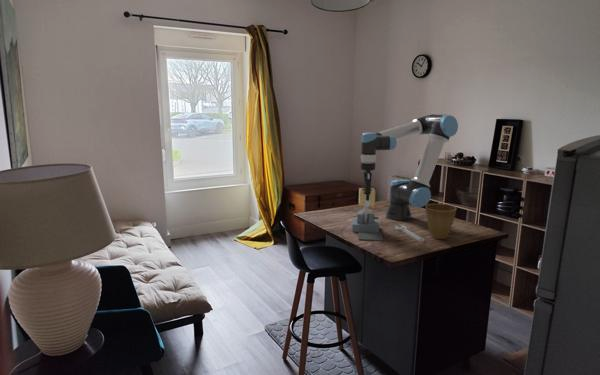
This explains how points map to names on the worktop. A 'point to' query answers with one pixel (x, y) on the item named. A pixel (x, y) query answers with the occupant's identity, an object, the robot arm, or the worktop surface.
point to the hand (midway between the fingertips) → (366, 204)
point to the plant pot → (440, 219)
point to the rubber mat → (370, 236)
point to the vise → (365, 222)
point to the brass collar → (362, 197)
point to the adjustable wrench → (409, 233)
